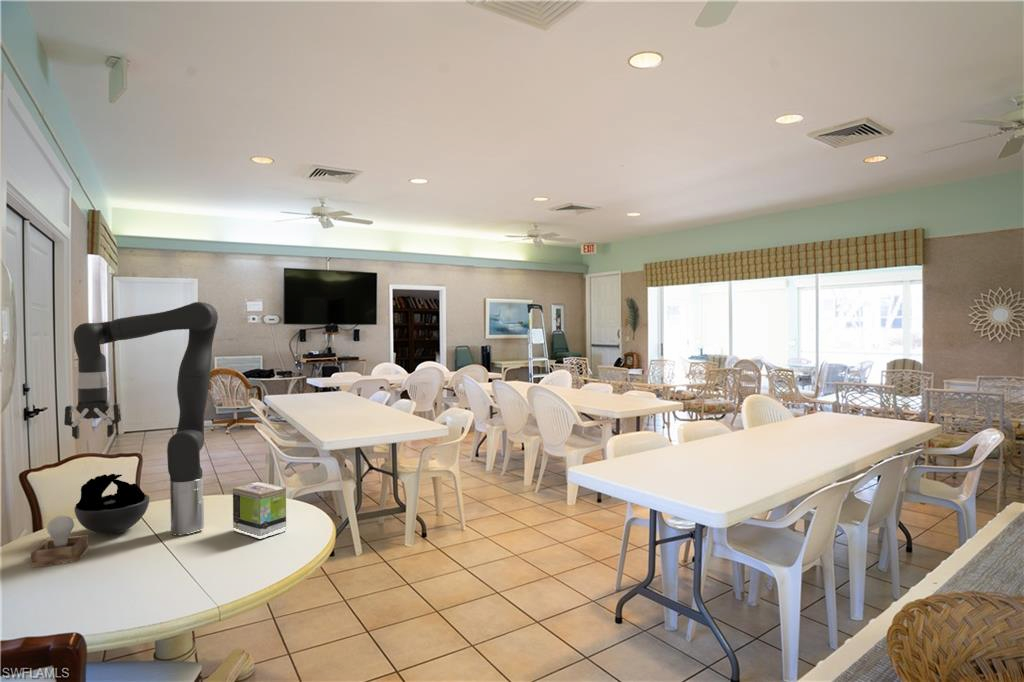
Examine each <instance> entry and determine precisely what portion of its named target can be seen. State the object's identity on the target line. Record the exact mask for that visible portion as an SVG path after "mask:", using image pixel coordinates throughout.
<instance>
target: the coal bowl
mask: <svg viewBox="0 0 1024 682" xmlns="http://www.w3.org/2000/svg"><path fill="white" fill-rule="evenodd" d="M122 476H123V474H115V473H111V474H109V475H107V474H103V475H98V476H97V475H96V476H95V477H94V478H90V479H89V480H87V482H86V483H84V484H83V485H81V486H80V499H79V502H78V503H76V504H75V507H74V514H75V518H76V519H77V521H78V522H79V524H80V525H81V526H82V527H83V528H85V529H86V530H87V531H89V532H92V533H95V534H99V535H113V534H118V533H122V532H124V531H126V530H128V529H130V528H132V527H133V526H134V525H136V524H137V523H138V522H140V520H141V519H142V518H143V517H144V515H145V513H146V512H147V510H148V507H149V505H150V496H149V494H145V492H144V491H143V490H142V489H141V488H140V486H139V485H138V484H137V483H131V484H130V483H129V482H126V481H123V480H120V479H119V478H120V477H122ZM111 484H114V485H116V492H115V493H114V494H108V495H104V496H103V493H104V492H105V491H106V490H107V488H108V487H109V486H110V485H111Z"/></svg>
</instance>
